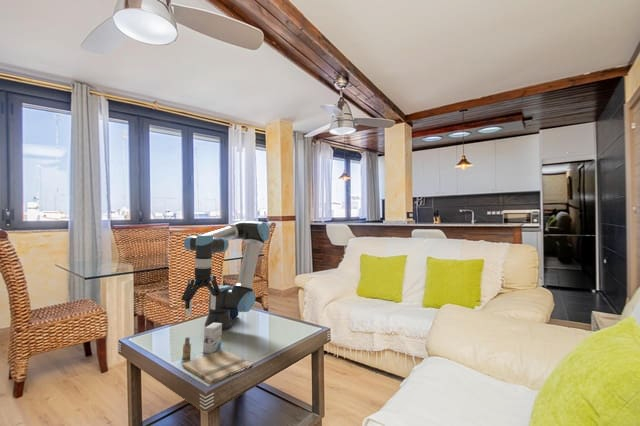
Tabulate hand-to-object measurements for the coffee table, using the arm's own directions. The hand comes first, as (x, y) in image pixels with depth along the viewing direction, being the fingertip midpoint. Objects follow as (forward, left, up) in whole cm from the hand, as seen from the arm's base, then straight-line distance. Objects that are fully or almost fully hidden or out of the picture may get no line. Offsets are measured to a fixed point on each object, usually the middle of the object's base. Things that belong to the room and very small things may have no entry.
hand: (201, 312), depth 152 cm
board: (+3, +20, -18) cm, 27 cm away
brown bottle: (+8, +3, -18) cm, 20 cm away
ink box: (-5, +3, -19) cm, 19 cm away
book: (-38, -32, -19) cm, 53 cm away
